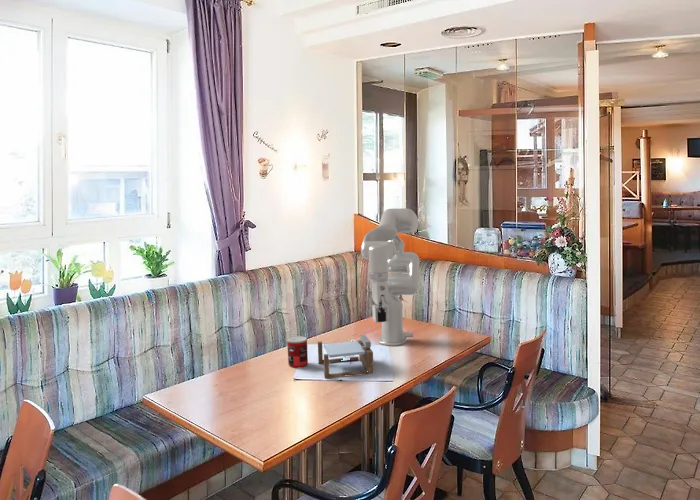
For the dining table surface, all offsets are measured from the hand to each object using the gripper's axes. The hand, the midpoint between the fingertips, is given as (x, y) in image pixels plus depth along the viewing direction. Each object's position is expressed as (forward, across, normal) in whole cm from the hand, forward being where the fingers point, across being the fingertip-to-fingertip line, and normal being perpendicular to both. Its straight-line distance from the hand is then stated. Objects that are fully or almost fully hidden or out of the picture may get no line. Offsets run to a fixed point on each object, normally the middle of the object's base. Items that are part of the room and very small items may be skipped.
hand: (380, 318), depth 235 cm
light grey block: (+1, 0, 0) cm, 1 cm away
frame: (+18, -4, +16) cm, 24 cm away
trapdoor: (+10, -3, +15) cm, 18 cm away
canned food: (+18, +5, +34) cm, 39 cm away
